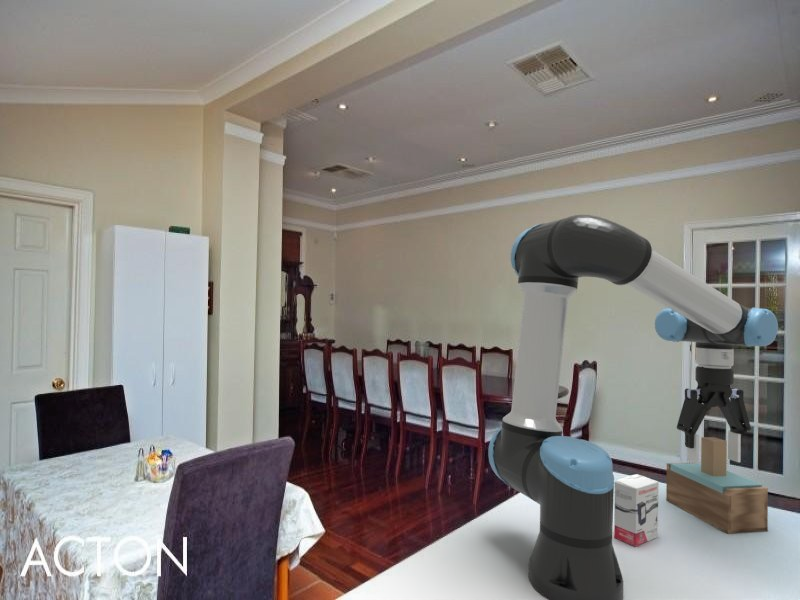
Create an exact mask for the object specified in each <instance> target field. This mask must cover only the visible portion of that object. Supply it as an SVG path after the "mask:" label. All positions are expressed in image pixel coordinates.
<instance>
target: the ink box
mask: <svg viewBox="0 0 800 600" xmlns="http://www.w3.org/2000/svg"><path fill="white" fill-rule="evenodd" d="M613 516H614V517H613V519H614V521H613V524H614V525H613V526H614V529H613V530H614V531H613V532H614V533H613V534H614V536H613V537H614V539H617V540H618V541H621V542H624V543H625V544H628V545H631V546H633V547H638V546H640V545H642V544H645V543H646V542H649V541H652V540H654V539H656V538H658V537H659V536H658V535H659V529H658V528H659V481H657V480H655V479H652V478H649V477H646V476H644V475H641V474H638V473H636V474H632V475H628V476H624V477H621V478H619V479H616V480H614V503H613Z"/></svg>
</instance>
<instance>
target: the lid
mask: <svg viewBox="0 0 800 600" xmlns="http://www.w3.org/2000/svg"><path fill="white" fill-rule="evenodd" d="M700 438H701V441H700V442H701V443H700V446H701V447H700V451H701V452H700V453H701V455H700V462H701V463H699V464H695V463H693V462H680V463H681V464H671V466H670V470H672V471H674V472H676V473H678V474H680V475H683V476H685V477H687V478H689V479H692V480H694V481H696V482H698V483H700V484H703V485H705V486H707V487H709V488H712V489H714V490H716V491H718V492H720V493H723V494H724V493H725V489H731V488H752V487H763V484H761V483H758V482H757V481H753V480H752V479H749V478H746V477H743V476H741V475H738V474H736V473H733V472H730V471H728V470H727V459H728V440H724V439H721V438H719V437H715V436H712V437H711V436H710V437H709V436H704V437H703V436H702V437H700Z"/></svg>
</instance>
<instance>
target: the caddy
mask: <svg viewBox="0 0 800 600" xmlns="http://www.w3.org/2000/svg"><path fill="white" fill-rule="evenodd" d="M681 463H682V462H672V463H671V462H670V463H666V485H665V486H666V492H665V493H666V496H665V497H666V502H669V503H671V504H672V505H674V506H676V507H678V508H679V509H681V510H683V511H685V512H687V513H689V514H690V515H692V516H695V517H696V518H698V519H700V520H702V521H703V522H705V523H707V524H709V525H711V526H712V527H715V528H716V529H718V530H720V531H722V532H723V533H726V534H728V535H729V534H743V533H744V534H747V533H761V532H768V531H769V530H768V529H769V526H768V525H769V523H768V522H769V521H768V519H769V518H768V516H769V515H768V513H769V512H768V511H769V510H768V509H769V505H768V504H769V502H768V501H769V499H768V497H769V493H768V492H769V488H768V487H766V486H762V487H752V488H731V489H725V493H724V494H723V493H720V492H718V491H716V490H714V489H712V488H709V487H707V486H705V485H703V484H700V483H698V482H696V481H694V480H692V479H689V478H687V477H685V476H683V475H680V474H678V473H676V472H674V471H672V470H670V466H671V464H681ZM699 463H701V461H699Z"/></svg>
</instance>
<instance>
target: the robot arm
mask: <svg viewBox="0 0 800 600" xmlns="http://www.w3.org/2000/svg"><path fill="white" fill-rule="evenodd" d="M510 264H511V267H512V269H514V273H515V274H516V276H518V278H517V279H518V281H517V287H518V288H519V289H520V291H521V292H522V293H523V302H522V303H523V304H522V312H521V322H520V331H519V338H518V347H517V348H518V349H517V357H516V365H515V375H514V383H513V390H512V391H513V393H512V400H511V401H512V402H511V411H510V412H509V413H507V414H506V415H505V416H503V417H502V421H501V427H500V428H498V429H497V430H496V433H495V434H493V435H492V437H491V439H490V442H489V444H488V451H487V453H488V454H487V455H488V462H489V465H490V467H491V470H492V471H493V473H495V475H496V476H497V477H498V479H500V480H501V481H503V483H504V484H505V485H506V486H508V487H510V488H511V489H514V490H516V491H517V492H519V493H521V494H522V495H524V496H525V497H527V498H528V499H530V500H532V501H534V502H535V503H537V504H538V505H539V532H538V535H537V538H536V540H535V543H534V546H533V549H532V552H531V555H530V557H529V559H528V580H529V582H530V584H531V585H532V586H533V588H534V589H535V590H536V591H538V593H540V594H541V595H542V596H544V597H546V598H547V599H549V600H623V598H624V577H623V574H622V570H621V568H620V565H619V562H618V559H617V555H616V552H615V548H614V545H613V526H614V525H613V524H614V521H613V519H614V517H613V516H614V496H615V475H614V467H613V460H612V457H611V456H610V454H609V453H608V452H607V451H606V450H605V449H604V448H602V447H601V446H599V445H598V444H595V443H593V442H591V441H589V440H586V439H578V438H577V437H572V436H565V435H563V427H562V425H561V424H560V423H559V422H558V421H557V418H556V417H557V407H558V398H559V387H560V377H561V371H562V370H561V369H562V359H563V351H564V348H563V347H564V340H565V332H566V321H567V313H568V302H569V299H570V297H572V296H574V294H575V293H577V292H578V286H579V278H596V279H597V278H599V279H603V280H606V281H607V282H611V283H612V284H614V285H616V286H621V287H622V286H629V287H631V288H633V289H634V290H636V291H638V292H640V293H641V294H643V295H645V296H646V297H649V298H650V299H652V300H654V301H655V302H656V303H658V304H659V303H660V305H663V306H664V307H665V308H664V309H662V310H661V311H660V310H659V312H658V314H657V315H656V317H655V320H654V329H655V332H656V334H657V335H658V336H659V338H661V339H662V340H664V341H666V342H674V343H678V342H687V343H689V342H690V343H695V359H694V360H695V364H696V365H697V366H696V367H695V376H694V377H695V381H696V383H697V385H696V386H697V387H696V388H694V389H692V388H685V389H684V400H683V404H682V407H681V410H680V415H679V417H678V422H677V423H676V424H677V425H676V429H677V430H678V431H681V432H683V433H684V446H685V448H686V460H687V462H689V463H695V464H699V462H700V434H697V432H698V430H699V428H700V426H701V424H702V422H703V420H704V419H705V416H707V413H708V411H711V409H712V408H719V409H720V411H721V413H722V415H723V416H724V419H725V420H726V422H727V425H728V426H729V428H730V429H731V431H728V432H727V459H728V460H729V461H733V462H736V463H741V457H742V455H741V450H742V446H743V435H747V434H748V432H749V431H751V429H752V427H751V423H750V419H749V416H748V412H747V408H746V405H745V401H744V390H743V389H740V388H733V387H732V385H733V384H734V383H735V379H734V377H735V376H734V375H735V373H734V372H735V370H734V369H733V368H731V367H733V366H734V364H735V363H734V362H735V361H734V359H735V358H734V349H735V348H734V347H735V346H743V347H749V348H752V347H767V346H769V345H771V344H772V343H774V341H775V339H776V338H777V333H778V331H779V323H778V320H777V316H776V315H775V314H774V313H773V311H771V310H769V309H767V308H758V307H751V308H750V307H745V306H744V305H743V304H740V303H738V302H737V301H735V300H734V299H732V297H731V298H730V297H729V296H727V295H726V294H723V292H721V291H719V290H717V289H716V288H714V287H712V286H711V285H709V284H708V283H706V282H705V281H703V280H701V279H700V278H699V277H697V276H695V275H694V274H692V273H690V272H688V271H687V270H686V269H684V268H682V267H680V265H678V264H676V263H674V262H672V261H671V260H669V259H668V258H666V257H665V256H662V255H661V254H659V253H658V252H657V251H655V250H654V248H653V245H652V243H651V242H650V241H649V240H648V239H647V238H645V237H644V236H642V235H640V234H638V233H636V231H634V230H631V229H629V228H627V227H626V226H624V225H621V224H619V223H617V222H616V221H612V220H609V219H607V218H604V217H601V216H597V215H596V216H595V215H591V214H574V215H570V216H567V217H565V218H562V219H557V220H554V221H549V222H546V223H545V222H542V223H538V224H536V225H533V226H531V227H530V228H527V229H525V230H524V231H523V232H521V233H520V234H519V235H518V236H517V237H516V239H515V240H514V242H513V244H512V247H511V252H510Z"/></svg>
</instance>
